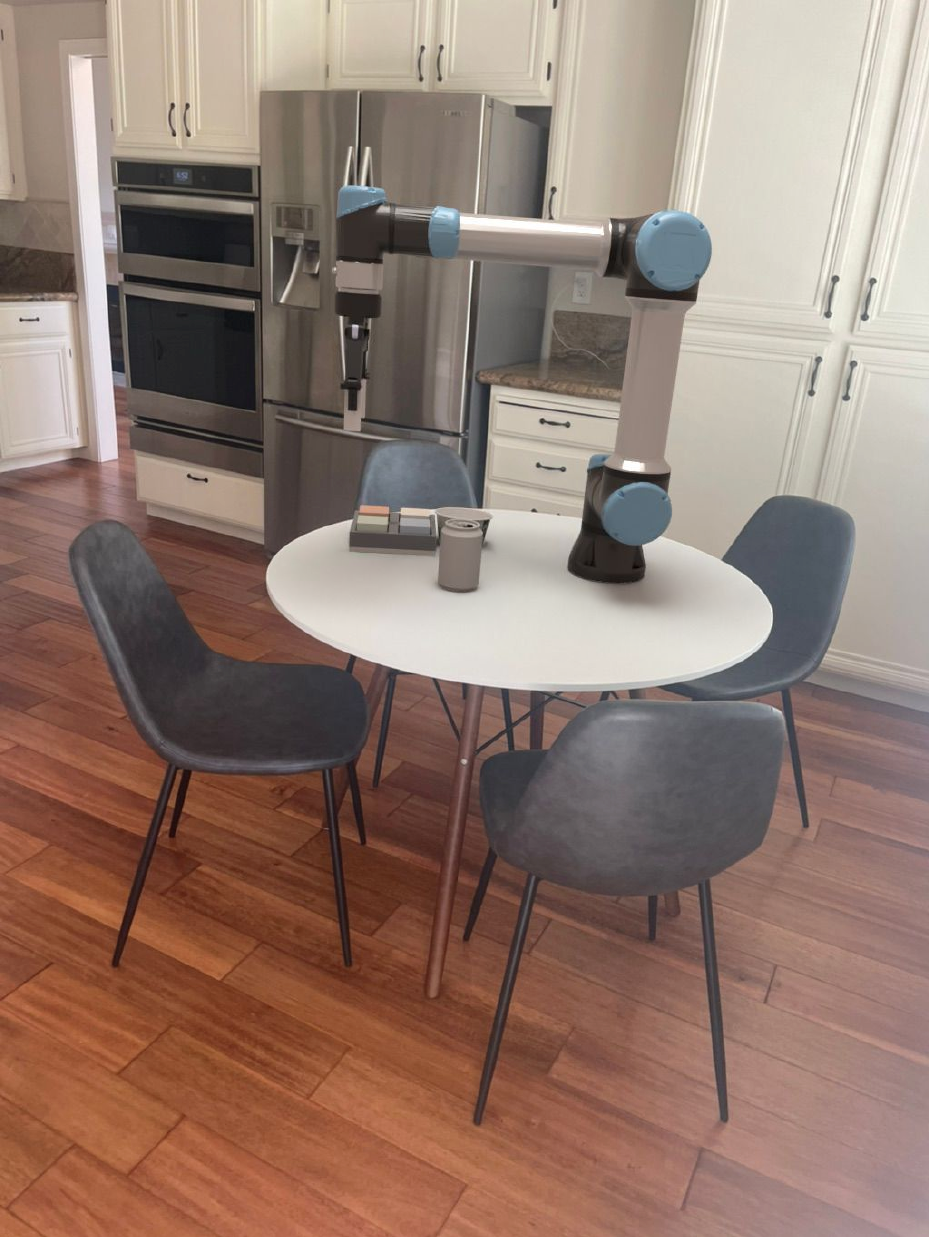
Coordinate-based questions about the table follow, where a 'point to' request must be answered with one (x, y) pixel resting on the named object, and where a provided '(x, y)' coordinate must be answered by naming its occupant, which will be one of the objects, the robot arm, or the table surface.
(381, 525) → the key
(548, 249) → the robot arm
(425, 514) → the key
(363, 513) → the key
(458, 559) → the can
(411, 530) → the key
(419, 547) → the keypad
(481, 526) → the food container
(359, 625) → the table surface
